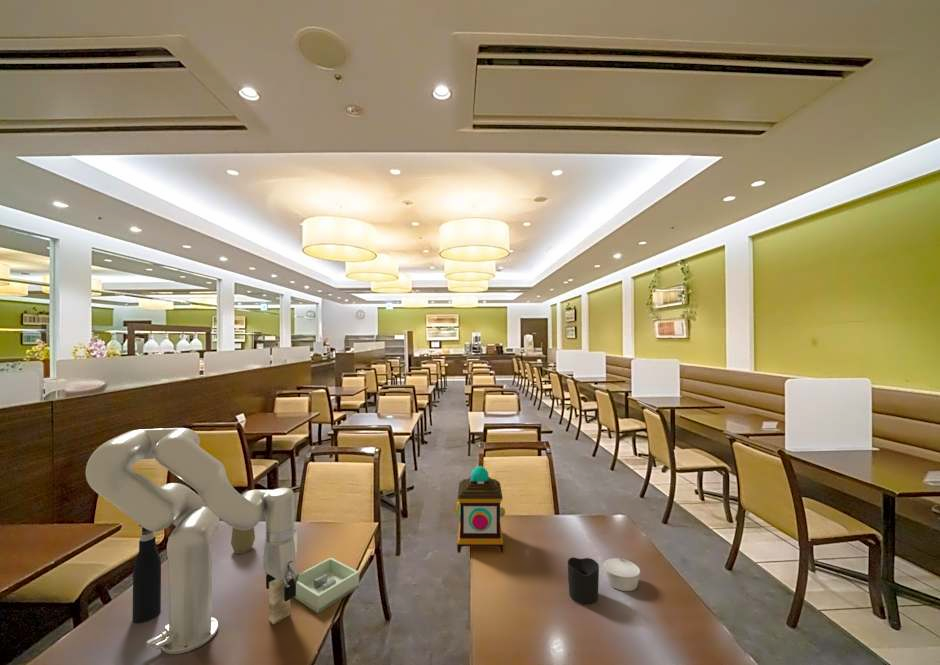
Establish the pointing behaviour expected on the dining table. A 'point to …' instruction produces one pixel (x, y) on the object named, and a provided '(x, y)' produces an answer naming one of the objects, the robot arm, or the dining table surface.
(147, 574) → the wine bottle
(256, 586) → the dining table surface
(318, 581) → the wick clip
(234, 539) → the squeeze bottle
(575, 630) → the dining table surface
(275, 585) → the upright wooden plank
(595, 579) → the pen holder
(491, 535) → the decorative lantern
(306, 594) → the pale green prong tray
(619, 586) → the ramekin
